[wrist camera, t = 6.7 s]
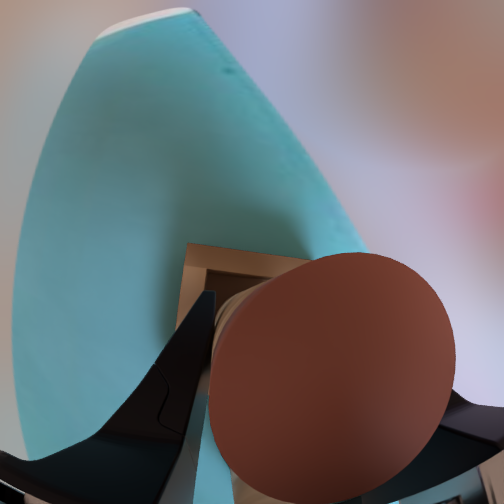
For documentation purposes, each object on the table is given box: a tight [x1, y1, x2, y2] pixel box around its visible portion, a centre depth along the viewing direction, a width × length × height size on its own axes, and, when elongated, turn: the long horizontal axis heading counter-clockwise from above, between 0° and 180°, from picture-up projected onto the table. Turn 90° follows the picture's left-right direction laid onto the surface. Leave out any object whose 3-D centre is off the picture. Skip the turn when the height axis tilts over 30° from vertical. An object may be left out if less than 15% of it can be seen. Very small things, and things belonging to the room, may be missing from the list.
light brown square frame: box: [175, 243, 313, 395], centre depth 16 cm, size 8×8×3 cm
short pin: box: [230, 468, 294, 504], centre depth 13 cm, size 4×4×7 cm
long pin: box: [209, 252, 456, 504], centre depth 10 cm, size 4×4×13 cm
